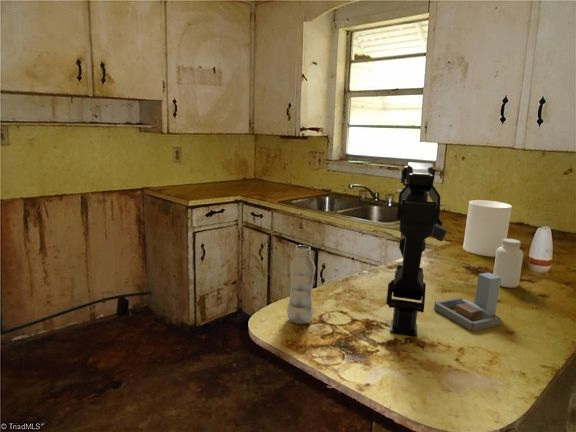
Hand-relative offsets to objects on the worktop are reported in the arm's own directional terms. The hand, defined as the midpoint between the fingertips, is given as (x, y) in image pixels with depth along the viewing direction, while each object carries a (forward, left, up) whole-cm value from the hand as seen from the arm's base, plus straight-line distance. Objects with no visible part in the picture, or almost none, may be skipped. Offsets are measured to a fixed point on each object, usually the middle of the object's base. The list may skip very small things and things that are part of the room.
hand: (409, 265), depth 116 cm
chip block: (+1, -17, -13) cm, 21 cm away
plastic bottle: (-17, +26, -13) cm, 34 cm away
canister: (+72, -31, -13) cm, 79 cm away
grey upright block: (+5, -21, -13) cm, 25 cm away
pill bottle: (+33, -32, -13) cm, 48 cm away
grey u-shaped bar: (+1, -16, -13) cm, 21 cm away
